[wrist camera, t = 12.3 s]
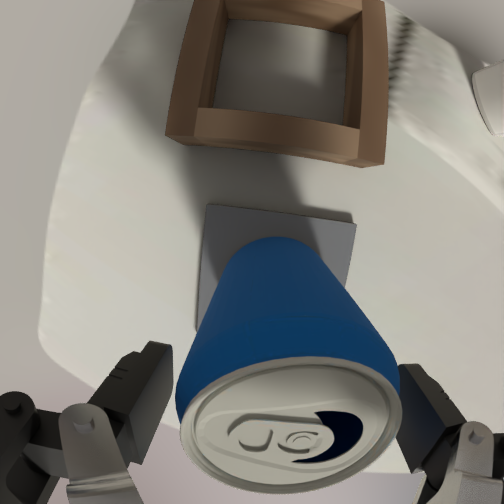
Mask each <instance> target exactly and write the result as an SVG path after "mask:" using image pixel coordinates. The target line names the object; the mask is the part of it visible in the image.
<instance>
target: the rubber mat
mask: <svg viewBox="0 0 504 504" xmlns="http://www.w3.org/2000/svg"><path fill="white" fill-rule="evenodd" d="M356 227H357V224H354V223H349V222H343V221H336V220H330V219H323V218H317V217H310V216H303V215H296V214H288V213H281V212H273V211H266V210H258V209H249V208H241V207H232V206H224V205H214V204H207V205H206V215H205V225H204V236H203V248H202V260H201V274H200V288H199V304H198V323H197V332H198V329H199V327H200V325H201V322H202V320H203V318H204V315H205V313H206V311H207V308H208V306H209V304H210V301H211V299H212V297H213V294H214V292H215V290H216V287H217V285H218V283H219V280H220V278H221V276H222V273H223V271H224V269H225V267H226V265H227V263H228V262H229V260H230V259H231V258H232V256H233V255H234V254H235V253H236V252H237V251H238V250H240V249H241V248H242V247H243V246H245V245H247V244H248V243H250V242H253V241H255V240H258V239H261V238H266V237H277V236H279V237H287V238H291V239H295V240H297V241H300V242H302V243H304V244H306V245H307V246H309V247H310V248H311V249H313V250H314V251H315V252H316V253H317V254H318V255H319V257H320V258H321V259H322V260H323V262H324V263H325V264H326V265H327V267H328V268H329V269H330V270H331V272H332V273H333V274H334V275H335V277H336V278H337V279H338V281H339V282H340V283H341V284H342V286H343V287H344V288H345V284H346V279H347V275H348V270H349V265H350V260H351V255H352V249H353V244H354V238H355V233H356Z"/></svg>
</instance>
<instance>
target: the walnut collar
mask: <svg viewBox="0 0 504 504" xmlns="http://www.w3.org/2000/svg"><path fill="white" fill-rule="evenodd" d="M229 19H243V20H258V21H269V22H278V23H286V24H293V25H300V26H306V27H311V28H317V29H322V30H327V31H331V32H336V33H340V34H344V35H347V62H346V84H345V101H344V115H343V126H342V125H337V124H332V123H327V122H322V121H317V120H311V119H305V118H299V117H293V116H286V115H279V114H271V113H263V112H254V111H244V110H232V109H217V108H212V107H213V101H214V95H215V89H216V83H217V77H218V71H219V65H220V60H221V55H222V49H223V44H224V39H225V34H226V29H227V24H228V20H229ZM387 119H388V42H387V27H386V15H385V5H384V2H383V1H380V0H194V3H193V6H192V10H191V13H190V17H189V20H188V24H187V28H186V32H185V35H184V39H183V44H182V48H181V52H180V56H179V61H178V65H177V70H176V75H175V80H174V85H173V90H172V95H171V101H170V106H169V112H168V118H167V125H166V131H165V135H166V136H168V137H169V138H171V139H173V140H175V141H177V142H179V143H181V144H183V145H198V146H213V147H225V148H236V149H245V150H254V151H263V152H271V153H278V154H286V155H292V156H299V157H305V158H311V159H317V160H323V161H329V162H334V163H339V164H344V165H349V166H354V167H359V168H365V167H371V166H377V165H383V164H384V160H385V149H386V136H387Z"/></svg>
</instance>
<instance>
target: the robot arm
mask: <svg viewBox="0 0 504 504" xmlns="http://www.w3.org/2000/svg"><path fill="white" fill-rule="evenodd" d="M398 371H399V376H400V392H399V399H400V401H401V406H402V421H401V425H400V428H399V431H398V433H397V435H396V439H397V442H398V444H399V446H400V448H401V451H402V453H403V455H404V458H405V460H406V462H407V465H408V467H409V469H410V472H411V474H414V473H418V472H422V471H425V473H426V475H425V476H424V477H423V478H422V480H421V482H420V485H419V487H418V490H417V493H416V495H415V498H414V500H413V503H412V504H504V480H503V477H504V433H495V434H493V433H492V431H491V430H490V429H489V428H488V427H487V426H486V425H484V424H482V423H480V422H476V421H470V422H467V421H466V419H465V418H464V417H463V415H462V414H461V412H460V411H459V410H458V408H457V407H456V406H455V404H454V403H453V402H452V400H451V399H450V400H449V396H448V395H447V394H446V393H444V390H443V388H442V387H441V386H440V385H439V383H438V382H437V381H435V380H434V379H432V378H431V377H430V376H428V375H427V373H426V372H425V371H424V369H423V368H422V367H421V366H420V365H419V364H400V365H399V366H398ZM172 389H173V350H172V346H171V345H169V344H164V343H159V342H154V341H149V342H148V343H147V345H146V346H145V347H144V349H143V350H142V352H141V353H139V352H135V351H133V352H131V353H129V354H128V355H126V356H124V357H122V358H121V360H120V361H119V362H118V363H117V365H116V366H115V369H114V368H113V370H112V371H111V372H110V374H109V376H107V377H106V379H105V380H104V381H103V383H102V384H101V385H100V387H99V388H98V389H97V391H96V392H95V393H94V394H93V396H92V397H91V399H90V400H89V401H88V402H87V403H80V404H74V405H71V406H69V407H67V408H66V409H64V410H63V411H62V413H56V412H50V411H45V410H40V409H36V407H35V405H34V403H33V401H32V399H31V398H30V397H29V396H28V395H27V394H25V393H22V392H17V391H12V392H7V393H5V394H3V395H1V396H0V504H47V502H48V500H49V498H50V496H51V494H52V492H53V490H54V488H55V486H56V484H57V482H58V480H59V479H60V477H63V478H68V479H69V482H70V484H69V485H67V486H66V492H67V497H68V500H69V503H70V504H144V503H143V501H142V499H141V497H140V495H139V493H138V491H137V488H136V487H135V484H134V482H133V480H132V478H131V477H130V475H129V472H128V470H127V468H128V466H129V464H130V462H134V463H137V464H140V465H142V463H143V460H144V458H145V456H146V453H147V451H148V448H149V446H150V444H151V441H152V439H153V437H154V434H155V432H156V430H157V427H158V425H159V422H160V420H161V418H162V415H163V413H164V411H165V408H166V406H167V404H168V401H169V399H170V397H171V394H172Z"/></svg>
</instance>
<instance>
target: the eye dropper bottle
mask: <svg viewBox="0 0 504 504" xmlns="http://www.w3.org/2000/svg"><path fill="white" fill-rule="evenodd" d="M472 84H473V89H474V94H475V98H476V101H477V104H478V107H479V110H480V112H481V115H482V117H483V119H484V121H485V123H486V125H487V127H488V129H489V131H490V132H491V133H492V135H494V136H496V137H502V136H504V60H502V61H499V62H497V63H494V64H492V65H490V66H487V67H485V68H483V69H480V70H478V71H476V72H474V73H473V75H472Z"/></svg>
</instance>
